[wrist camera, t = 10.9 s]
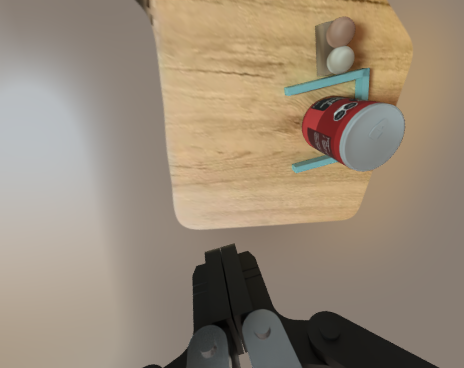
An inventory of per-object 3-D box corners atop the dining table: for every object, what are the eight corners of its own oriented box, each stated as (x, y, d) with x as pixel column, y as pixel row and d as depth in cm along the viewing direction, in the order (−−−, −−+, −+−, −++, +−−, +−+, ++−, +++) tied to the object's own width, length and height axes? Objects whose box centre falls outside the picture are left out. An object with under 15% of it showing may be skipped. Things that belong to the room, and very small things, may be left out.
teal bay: (284, 87, 33) (288, 88, 31) (362, 68, 33) (369, 67, 32) (292, 169, 38) (296, 173, 37) (358, 151, 39) (364, 154, 38)
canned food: (353, 99, 35) (418, 108, 25) (335, 149, 38) (386, 175, 28) (309, 91, 33) (359, 97, 24) (294, 144, 37) (333, 169, 27)
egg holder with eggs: (314, 25, 30) (335, 16, 26) (337, 20, 30) (362, 10, 26) (316, 76, 33) (335, 76, 28) (337, 71, 33) (359, 70, 29)
